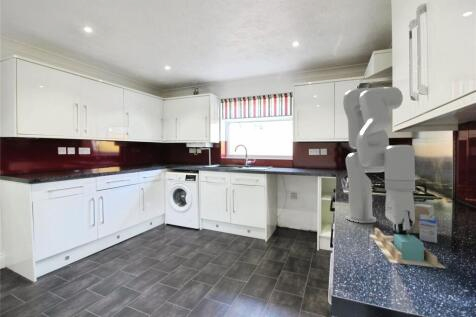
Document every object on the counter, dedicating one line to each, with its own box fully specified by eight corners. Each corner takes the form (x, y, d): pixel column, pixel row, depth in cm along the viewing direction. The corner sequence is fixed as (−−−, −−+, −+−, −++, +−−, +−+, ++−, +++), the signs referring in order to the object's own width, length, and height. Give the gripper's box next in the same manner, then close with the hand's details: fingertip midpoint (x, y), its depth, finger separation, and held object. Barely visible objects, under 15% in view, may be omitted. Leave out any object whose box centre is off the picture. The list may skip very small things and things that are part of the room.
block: (394, 250, 67) (393, 234, 67) (414, 252, 65) (413, 235, 65) (402, 259, 61) (401, 241, 61) (423, 261, 60) (423, 243, 60)
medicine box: (419, 237, 81) (419, 213, 81) (436, 240, 78) (435, 215, 78) (419, 244, 75) (419, 218, 75) (437, 247, 72) (437, 220, 72)
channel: (369, 238, 81) (369, 227, 81) (408, 241, 77) (408, 229, 77) (390, 267, 60) (390, 252, 60) (445, 273, 56) (445, 258, 56)
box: (412, 233, 84) (412, 204, 84) (417, 231, 87) (417, 203, 87) (430, 237, 80) (429, 207, 80) (434, 235, 82) (434, 205, 82)
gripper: (378, 182, 77) (379, 235, 77) (394, 188, 62) (395, 253, 62) (403, 182, 74) (405, 237, 74) (426, 189, 60) (427, 256, 60)
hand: (400, 244), depth 68 cm, fingers closed
